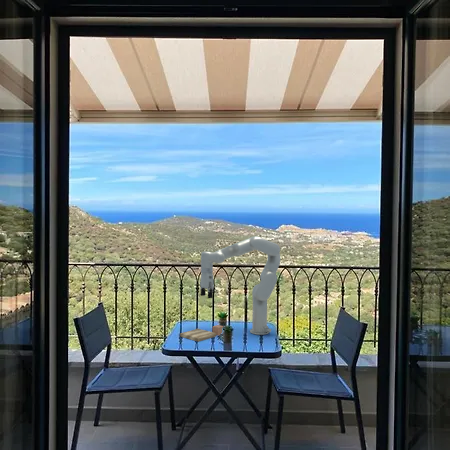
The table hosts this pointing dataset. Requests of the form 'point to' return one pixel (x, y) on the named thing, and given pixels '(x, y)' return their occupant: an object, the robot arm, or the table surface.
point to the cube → (217, 329)
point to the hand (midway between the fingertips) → (206, 296)
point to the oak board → (198, 335)
